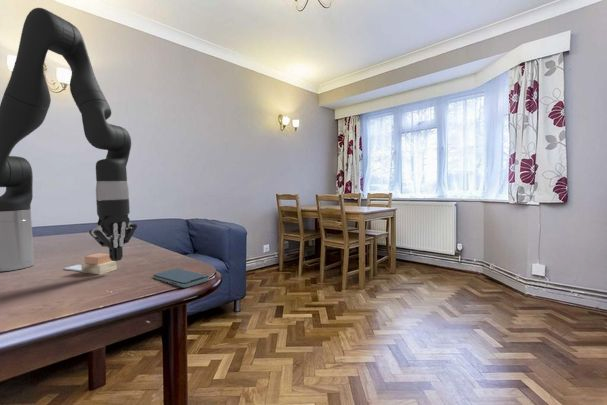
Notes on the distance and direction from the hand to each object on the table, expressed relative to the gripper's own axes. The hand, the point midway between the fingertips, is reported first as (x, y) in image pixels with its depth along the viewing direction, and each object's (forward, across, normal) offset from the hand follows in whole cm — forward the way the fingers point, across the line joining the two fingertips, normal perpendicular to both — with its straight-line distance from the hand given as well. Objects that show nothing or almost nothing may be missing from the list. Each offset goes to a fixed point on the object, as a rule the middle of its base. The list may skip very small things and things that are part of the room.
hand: (116, 260), depth 81 cm
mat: (+3, 0, -14) cm, 15 cm away
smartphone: (+4, -1, +21) cm, 21 cm away
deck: (+4, 0, -7) cm, 7 cm away
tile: (+1, 0, -7) cm, 7 cm away
